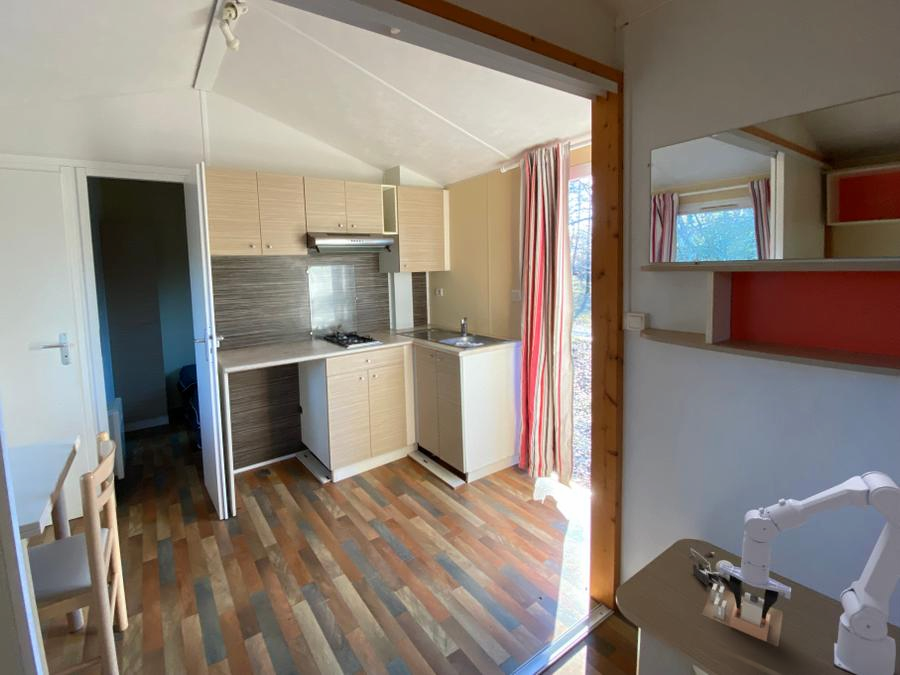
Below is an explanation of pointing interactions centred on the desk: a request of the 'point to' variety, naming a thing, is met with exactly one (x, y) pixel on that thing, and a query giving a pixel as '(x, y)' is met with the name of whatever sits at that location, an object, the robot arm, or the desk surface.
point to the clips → (718, 602)
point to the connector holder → (750, 625)
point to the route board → (729, 597)
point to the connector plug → (752, 609)
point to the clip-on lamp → (707, 575)
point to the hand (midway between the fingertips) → (751, 611)
